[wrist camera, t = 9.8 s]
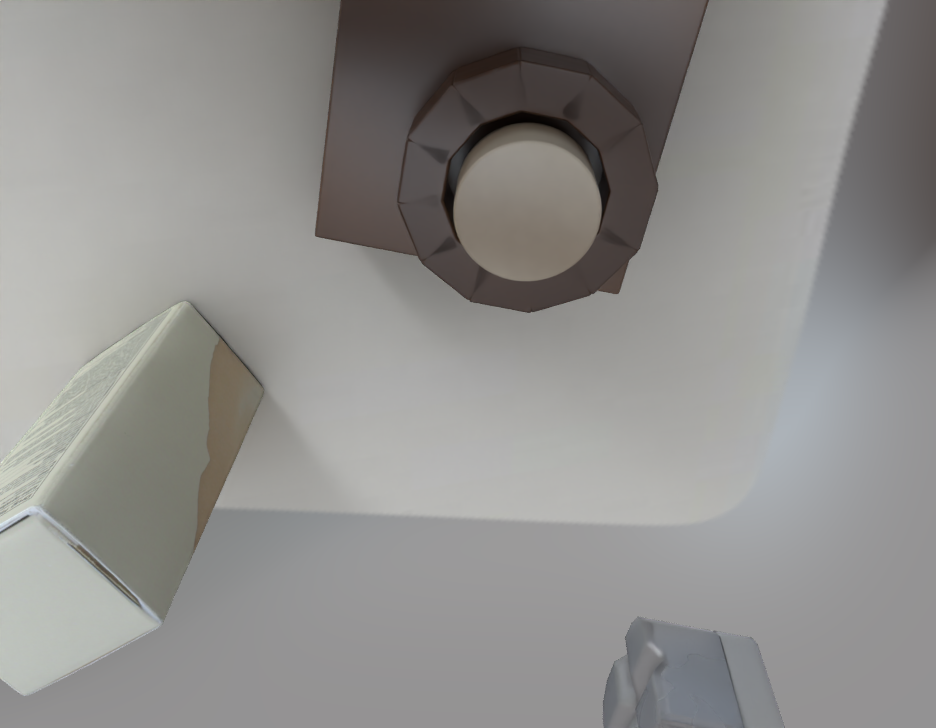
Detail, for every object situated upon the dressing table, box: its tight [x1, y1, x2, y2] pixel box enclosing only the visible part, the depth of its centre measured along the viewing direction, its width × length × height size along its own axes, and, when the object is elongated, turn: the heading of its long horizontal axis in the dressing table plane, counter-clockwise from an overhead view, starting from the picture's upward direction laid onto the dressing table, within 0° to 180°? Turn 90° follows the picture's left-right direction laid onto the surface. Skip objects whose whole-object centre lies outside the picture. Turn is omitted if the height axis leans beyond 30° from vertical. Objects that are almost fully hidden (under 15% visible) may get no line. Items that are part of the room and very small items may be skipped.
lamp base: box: [315, 0, 709, 313], centre depth 23 cm, size 12×9×4 cm
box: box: [0, 301, 264, 696], centre depth 25 cm, size 5×4×11 cm
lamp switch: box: [453, 122, 602, 281], centre depth 22 cm, size 4×4×2 cm
